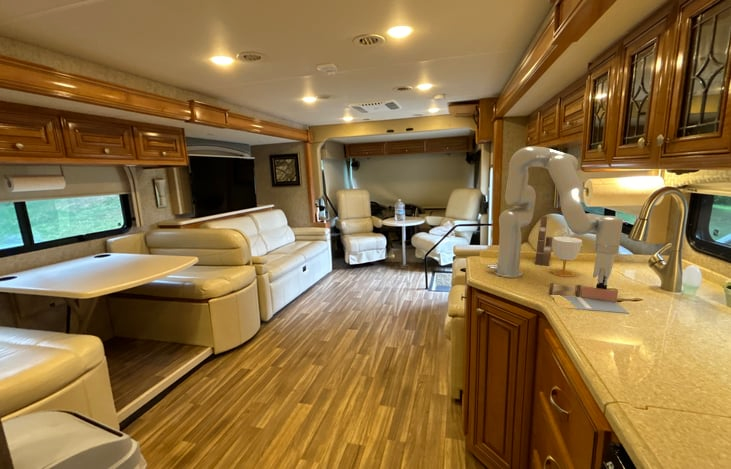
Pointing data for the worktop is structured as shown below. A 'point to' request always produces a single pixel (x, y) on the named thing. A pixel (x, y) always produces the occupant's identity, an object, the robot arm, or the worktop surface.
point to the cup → (566, 252)
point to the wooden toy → (543, 245)
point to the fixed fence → (564, 290)
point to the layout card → (595, 304)
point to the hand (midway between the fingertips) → (600, 294)
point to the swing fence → (599, 293)
